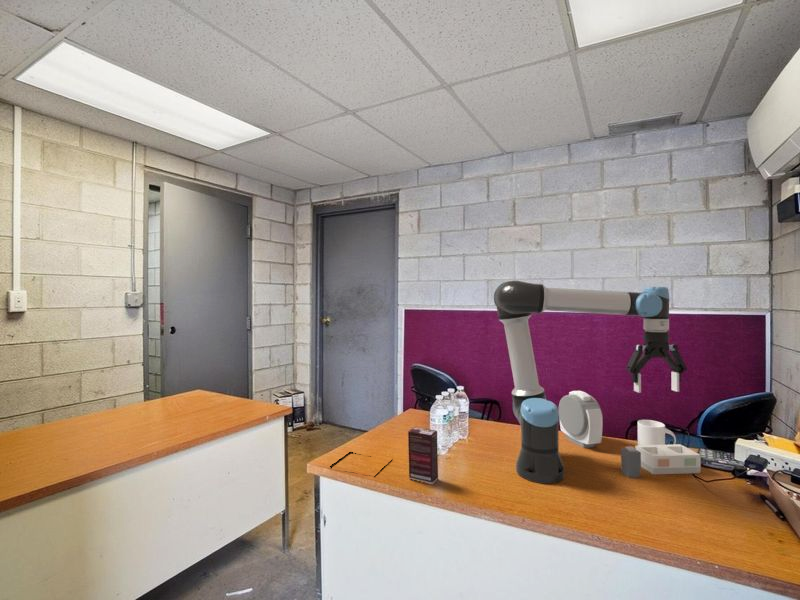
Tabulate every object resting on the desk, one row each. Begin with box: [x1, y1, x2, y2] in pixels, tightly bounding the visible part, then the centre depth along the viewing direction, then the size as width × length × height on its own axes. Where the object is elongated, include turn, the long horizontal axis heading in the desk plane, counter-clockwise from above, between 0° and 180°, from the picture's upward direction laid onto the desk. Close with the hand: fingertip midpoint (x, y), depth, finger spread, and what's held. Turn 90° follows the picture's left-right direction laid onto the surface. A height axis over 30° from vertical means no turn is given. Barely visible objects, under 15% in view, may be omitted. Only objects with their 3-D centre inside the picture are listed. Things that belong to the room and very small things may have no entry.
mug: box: [637, 419, 677, 445], centre depth 145 cm, size 9×12×11 cm
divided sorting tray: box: [634, 443, 702, 475], centre depth 132 cm, size 16×9×6 cm, turn 92°
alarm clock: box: [558, 390, 604, 449], centre depth 156 cm, size 18×8×20 cm, turn 14°
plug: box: [620, 446, 642, 478], centre depth 128 cm, size 4×4×9 cm
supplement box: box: [407, 426, 439, 485], centre depth 127 cm, size 9×5×16 cm, turn 61°
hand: (656, 391), depth 137 cm, fingers open, 13 cm apart
